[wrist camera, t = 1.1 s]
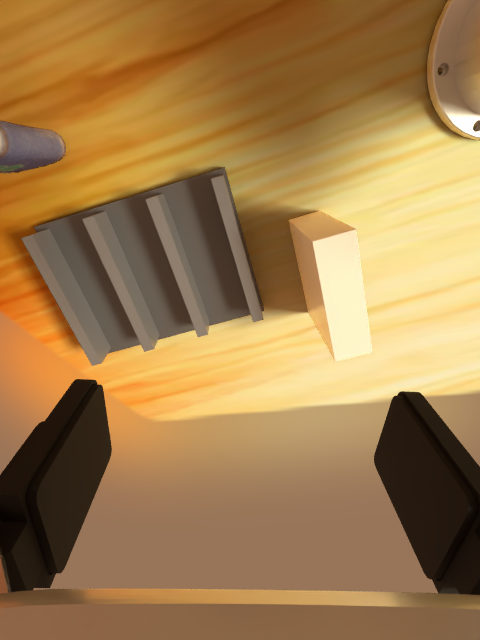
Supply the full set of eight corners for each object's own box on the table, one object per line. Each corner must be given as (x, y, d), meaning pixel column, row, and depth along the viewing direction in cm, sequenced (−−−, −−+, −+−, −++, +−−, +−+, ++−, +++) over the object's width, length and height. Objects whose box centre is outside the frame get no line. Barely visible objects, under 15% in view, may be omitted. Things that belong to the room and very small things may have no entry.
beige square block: (319, 210, 32) (356, 229, 23) (335, 304, 36) (372, 352, 27) (288, 219, 32) (312, 241, 23) (308, 312, 36) (335, 361, 27)
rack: (224, 167, 30) (224, 167, 26) (263, 307, 36) (267, 323, 32) (39, 225, 31) (14, 233, 28) (105, 350, 37) (92, 370, 33)
